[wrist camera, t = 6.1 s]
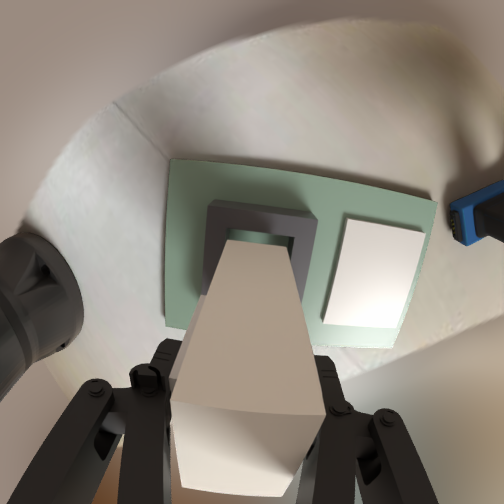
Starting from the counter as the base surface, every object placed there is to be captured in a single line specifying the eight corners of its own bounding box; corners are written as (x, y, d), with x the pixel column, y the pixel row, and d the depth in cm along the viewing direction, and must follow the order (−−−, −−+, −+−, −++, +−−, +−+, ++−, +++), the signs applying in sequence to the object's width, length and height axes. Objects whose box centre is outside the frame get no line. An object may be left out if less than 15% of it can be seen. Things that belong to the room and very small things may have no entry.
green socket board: (168, 321, 29) (156, 343, 25) (174, 158, 23) (158, 160, 20) (389, 343, 29) (401, 365, 25) (432, 200, 24) (455, 209, 20)
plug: (220, 315, 22) (182, 486, 8) (227, 239, 20) (170, 399, 6) (273, 321, 22) (281, 496, 8) (286, 246, 20) (326, 414, 6)
